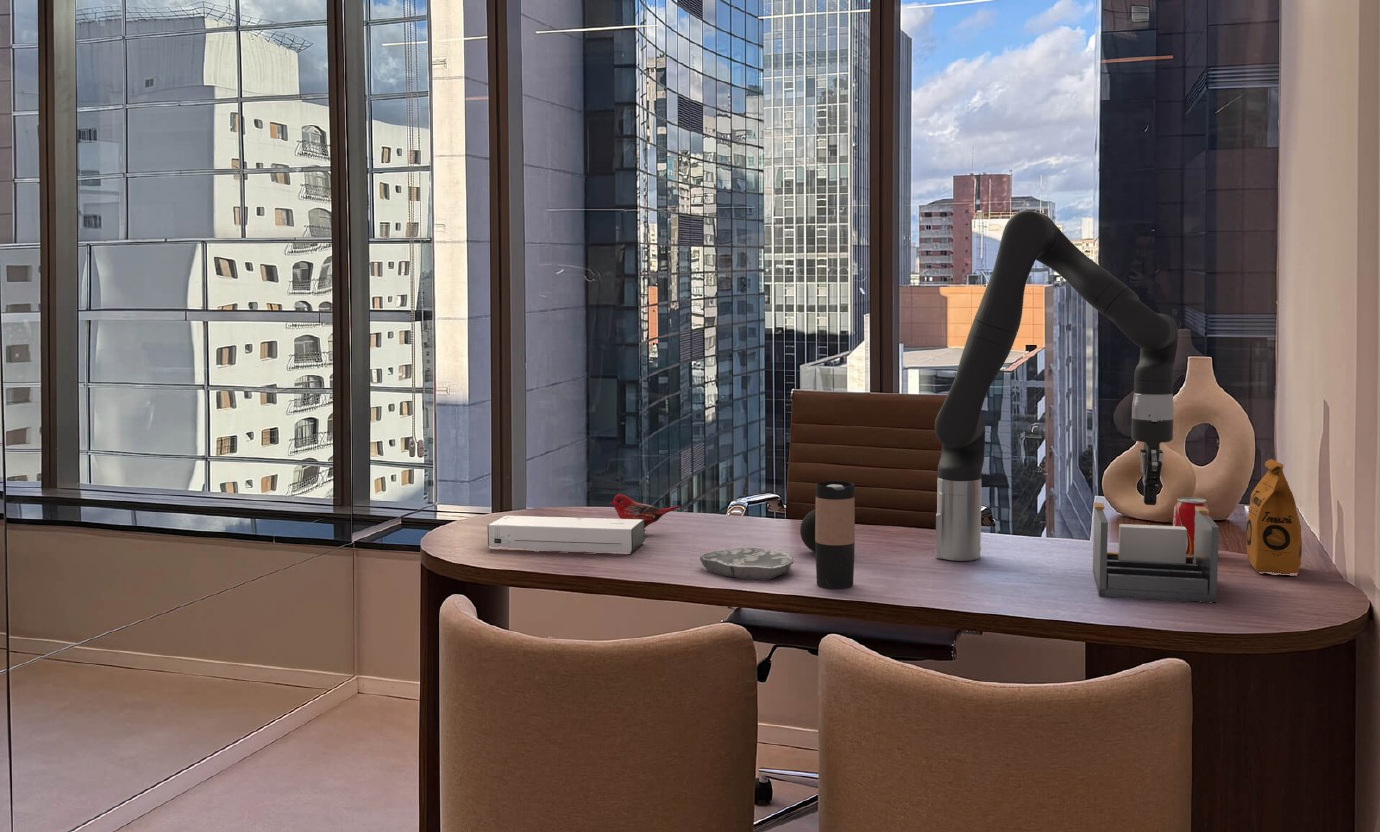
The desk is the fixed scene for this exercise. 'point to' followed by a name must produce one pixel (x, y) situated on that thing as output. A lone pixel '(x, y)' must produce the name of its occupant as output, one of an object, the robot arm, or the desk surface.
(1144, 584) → the rack
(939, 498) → the robot arm
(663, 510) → the decorative bird figurine
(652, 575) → the desk surface
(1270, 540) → the coffee package
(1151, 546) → the panel
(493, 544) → the laminator
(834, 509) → the travel mug
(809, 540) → the speaker
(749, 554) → the brain slice
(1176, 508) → the soda can
